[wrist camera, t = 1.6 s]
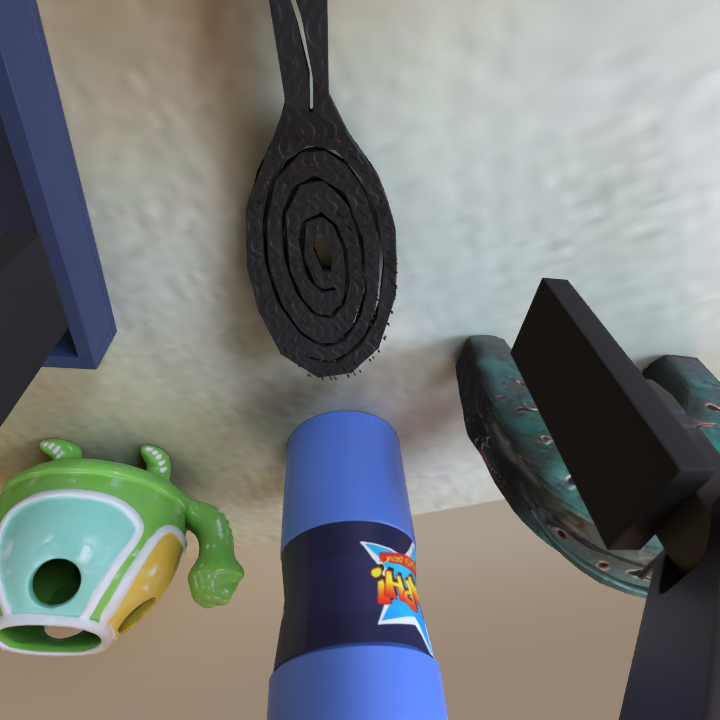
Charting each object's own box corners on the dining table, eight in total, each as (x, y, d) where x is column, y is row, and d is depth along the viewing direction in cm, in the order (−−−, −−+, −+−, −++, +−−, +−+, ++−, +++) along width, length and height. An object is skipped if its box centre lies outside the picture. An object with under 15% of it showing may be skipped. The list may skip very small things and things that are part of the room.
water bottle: (359, 391, 34) (411, 939, 15) (421, 455, 39) (518, 921, 20) (260, 443, 37) (199, 957, 18) (330, 496, 42) (341, 937, 23)
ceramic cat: (727, 348, 34) (1062, 669, 19) (671, 410, 38) (909, 715, 23) (465, 312, 30) (616, 674, 15) (435, 385, 34) (529, 729, 19)
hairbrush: (421, -326, 13) (402, 382, 28) (403, -267, 16) (394, 345, 31) (110, -319, 13) (261, 391, 28) (150, -260, 15) (267, 353, 31)
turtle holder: (244, 531, 45) (226, 676, 36) (32, 515, 41) (-48, 674, 32) (262, 449, 38) (245, 607, 28) (3, 420, 34) (-112, 592, 24)
